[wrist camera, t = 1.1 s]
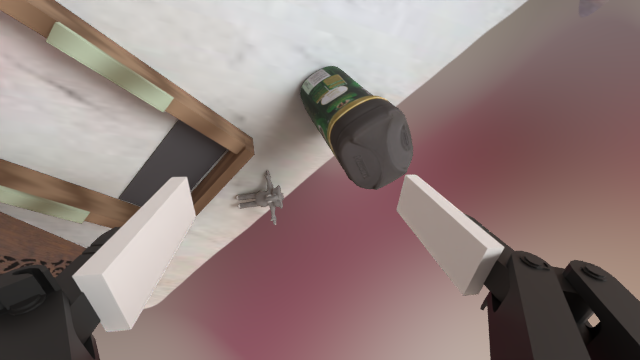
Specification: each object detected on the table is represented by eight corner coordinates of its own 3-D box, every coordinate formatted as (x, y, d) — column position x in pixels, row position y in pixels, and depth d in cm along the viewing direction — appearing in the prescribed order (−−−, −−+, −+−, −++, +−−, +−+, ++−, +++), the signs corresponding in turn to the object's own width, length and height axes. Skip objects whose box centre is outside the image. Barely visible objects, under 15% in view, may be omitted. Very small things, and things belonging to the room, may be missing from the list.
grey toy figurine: (225, 175, 40) (273, 168, 38) (244, 174, 45) (286, 168, 43) (233, 231, 40) (281, 227, 38) (251, 223, 45) (293, 219, 44)
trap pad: (119, 197, 36) (118, 198, 36) (185, 111, 31) (184, 112, 31) (168, 214, 41) (167, 215, 41) (232, 142, 36) (232, 143, 36)
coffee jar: (359, 109, 39) (427, 171, 25) (319, 133, 39) (364, 207, 26) (337, 54, 32) (412, 96, 18) (290, 84, 33) (329, 147, 19)
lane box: (-357, 56, 18) (-513, 71, 14) (-390, -311, 12) (-683, -455, 8) (172, 226, 43) (165, 248, 39) (252, 138, 36) (254, 154, 33)
